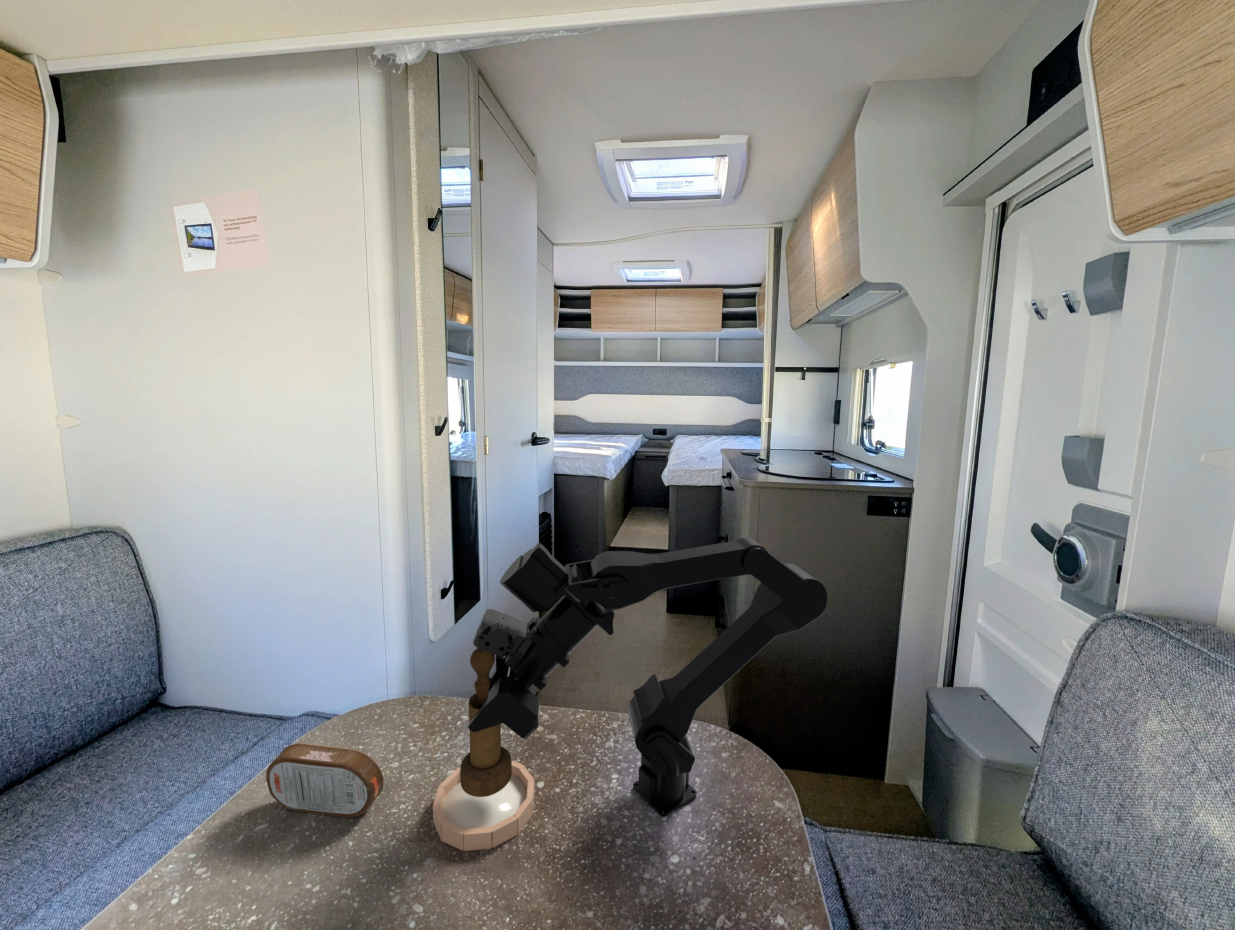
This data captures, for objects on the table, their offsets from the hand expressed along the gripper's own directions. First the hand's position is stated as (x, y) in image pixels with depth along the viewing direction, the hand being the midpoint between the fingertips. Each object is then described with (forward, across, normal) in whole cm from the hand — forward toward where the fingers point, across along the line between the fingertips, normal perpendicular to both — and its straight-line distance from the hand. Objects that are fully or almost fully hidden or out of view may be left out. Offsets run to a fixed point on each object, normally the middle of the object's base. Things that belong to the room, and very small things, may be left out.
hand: (473, 718), depth 64 cm
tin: (+23, -2, -5) cm, 24 cm away
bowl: (+8, 0, +10) cm, 13 cm away
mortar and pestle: (+5, 0, +7) cm, 9 cm away
